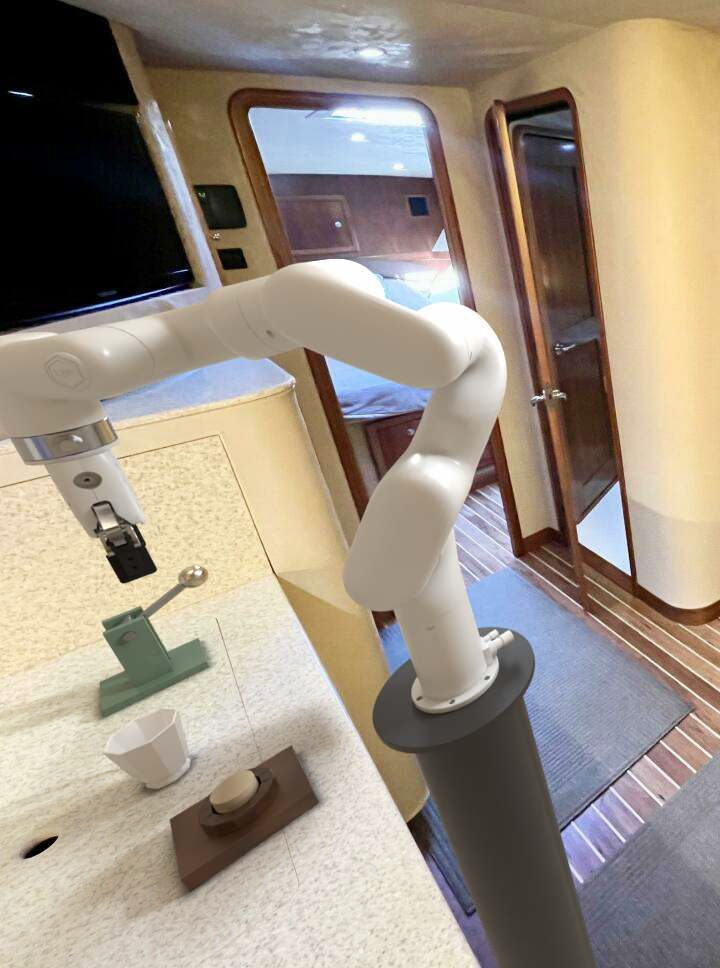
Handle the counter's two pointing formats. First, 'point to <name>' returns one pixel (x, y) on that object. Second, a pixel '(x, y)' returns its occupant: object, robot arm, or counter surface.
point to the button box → (240, 819)
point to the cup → (151, 748)
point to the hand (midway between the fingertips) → (135, 563)
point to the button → (234, 792)
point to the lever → (175, 590)
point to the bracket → (144, 661)
